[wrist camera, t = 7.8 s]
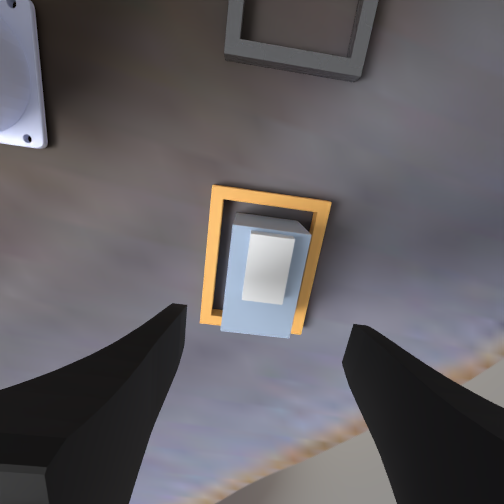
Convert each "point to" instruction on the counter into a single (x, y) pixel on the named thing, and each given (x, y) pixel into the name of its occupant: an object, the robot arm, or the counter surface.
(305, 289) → the orange picture frame
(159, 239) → the counter surface
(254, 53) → the open gray picture frame
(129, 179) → the counter surface
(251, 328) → the plug
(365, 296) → the counter surface
